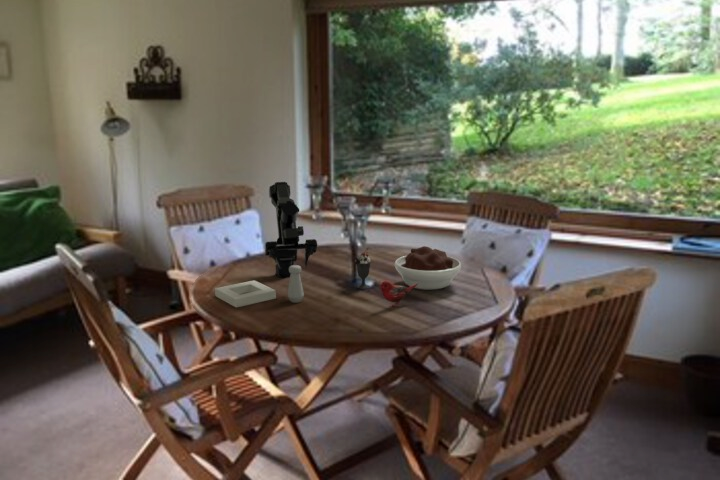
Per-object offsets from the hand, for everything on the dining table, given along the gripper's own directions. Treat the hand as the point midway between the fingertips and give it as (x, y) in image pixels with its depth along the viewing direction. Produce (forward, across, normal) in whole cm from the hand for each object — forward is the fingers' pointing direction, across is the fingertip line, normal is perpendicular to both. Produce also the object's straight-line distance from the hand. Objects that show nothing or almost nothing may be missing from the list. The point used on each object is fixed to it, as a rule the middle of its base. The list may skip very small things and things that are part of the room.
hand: (293, 267), depth 232 cm
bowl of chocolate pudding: (+7, +51, +10) cm, 53 cm away
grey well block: (+5, -17, +11) cm, 21 cm away
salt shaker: (+11, 0, +5) cm, 12 cm away
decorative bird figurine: (+20, +35, -4) cm, 40 cm away
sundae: (+4, +27, +12) cm, 30 cm away
